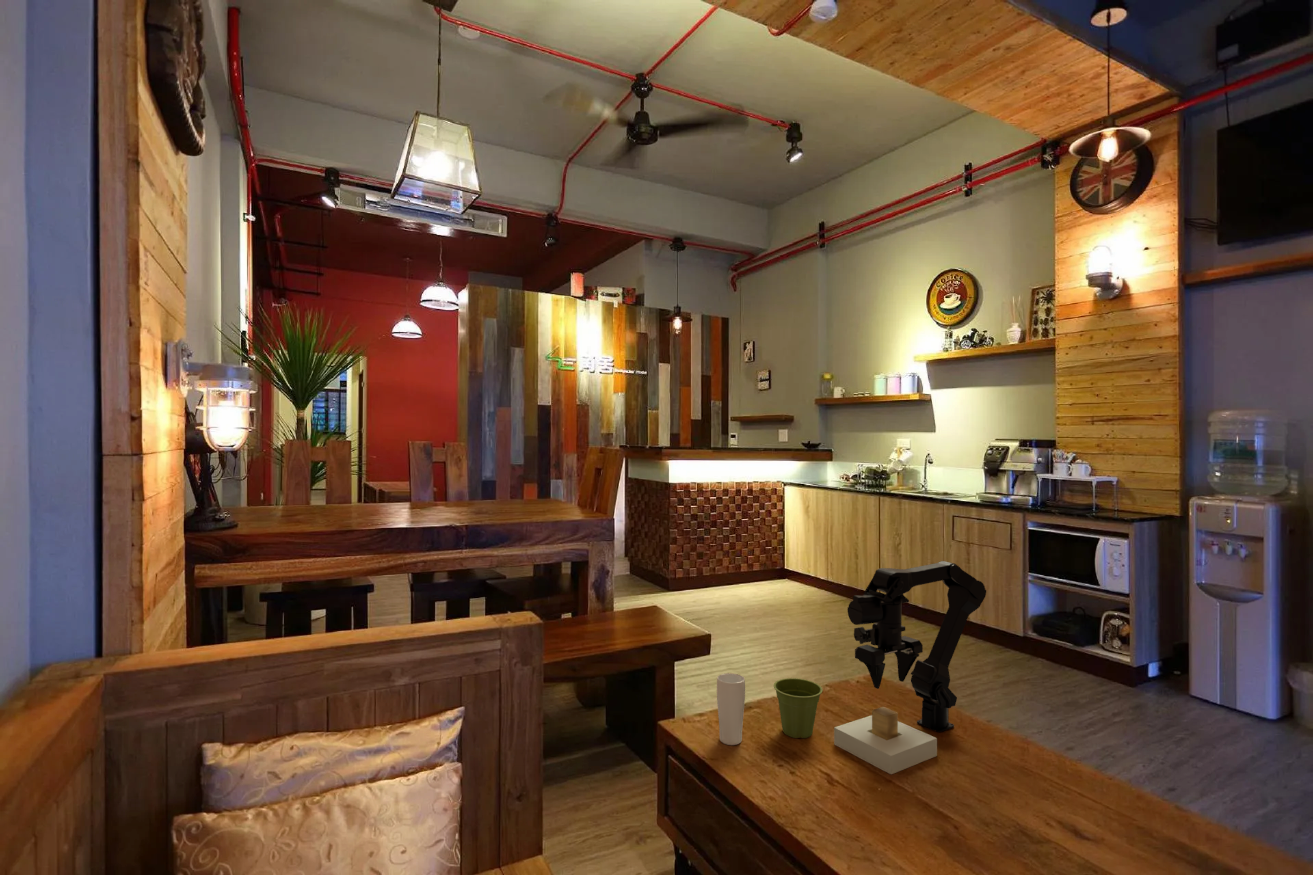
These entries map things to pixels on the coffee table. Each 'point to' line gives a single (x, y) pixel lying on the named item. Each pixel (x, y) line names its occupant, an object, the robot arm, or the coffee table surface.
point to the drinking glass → (730, 707)
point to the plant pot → (797, 705)
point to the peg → (885, 723)
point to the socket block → (885, 745)
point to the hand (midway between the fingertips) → (889, 684)
